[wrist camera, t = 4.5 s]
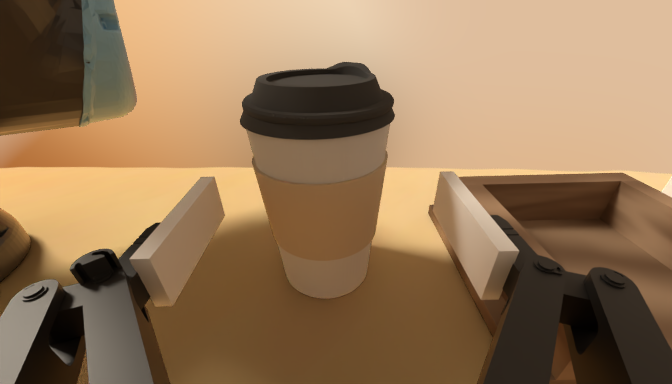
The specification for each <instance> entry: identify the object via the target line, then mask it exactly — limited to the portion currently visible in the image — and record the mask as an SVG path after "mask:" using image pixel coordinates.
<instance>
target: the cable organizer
mask: <svg viewBox="0 0 672 384" xmlns="http://www.w3.org/2000/svg"><path fill="white" fill-rule="evenodd" d="M661 192H662V193H664V194H666V195H668V196H670V197H672V177H671V178H670V180H669V181H668V182H667V184H666V185H665V187H664V188H663V190H662V191H661Z"/></svg>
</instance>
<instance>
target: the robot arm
mask: <svg viewBox="0 0 672 384" xmlns="http://www.w3.org/2000/svg"><path fill="white" fill-rule="evenodd" d="M136 102H137V98H136V91H135V87H134V82H133V77H132V73H131V69H130V65H129V61H128V57H127V53H126V49H125V45H124V41H123V37H122V33H121V29H120V26H119V21H118V17H117V13H116V9H115V5H114V0H0V136H1V135H9V134H17V133H25V132H33V131H41V130H50V129H58V128H65V127H74V126H79V127H81V126H87V125H88V124H89V123H92V122H98V121H103V120H108V119H113V118H119V117H123V116H125V115H127V114H128V113H129V112H131V111H132V110H133V109H134V107H135V105H136ZM433 213H434V214H435V216H436V218H437V220H438V222H439V224H440V226H441V227H442V229H443V231H444V233H445V235H446V237H447V238H448V240H449V242H450V244H451V246H452V248H453V250H454V251H455V253H456V255H457V257H458V259H459V261H460V262H461V264H462V266H463V268H464V270H465V272H466V274H467V275H468V277H469V279H470V281H471V283H472V285H473V287H474V288H475V290H476V292H477V294H478V296H479V298H480V299H481V300H499V298H500V295H501V293H502V291H503V290H504V292H505V293H506V295H507V297H508V299H507V302H506V304H505V306H504V308H503V310H502V313H501V318H500V321H499V324H498V326H497V329H496V332H495V335H494V338H493V340H492V343H491V346H490V349H489V352H488V354H487V357H486V360H485V363H484V366H483V368H482V371H481V374H480V377H479V380H478V382H477V384H549V383H550V376H551V370H552V364H553V357H554V351H555V345H556V338H557V332H558V326H559V323H562V324H563V326H564V330H565V335H566V339H567V344H568V348H569V352H570V357H571V361H572V365H573V370H574V374H575V378H576V383H577V384H672V350H671V348H670V346H669V344H668V342H667V340H666V339H665V337H664V335H663V333H662V331H661V329H660V328H659V326H658V324H657V322H656V320H655V318H654V317H653V315H652V313H651V311H650V309H649V307H648V305H647V304H646V302H645V300H644V298H643V296H642V294H641V293H640V291H639V289H638V287H637V286H636V285H635V283H634V282H633V281H632V280H631V279H629V278H628V277H627V276H625V275H623V274H622V273H619V272H617V271H615V270H612V269H609V268H604V267H594V268H592V269H591V270H590V271H589V273H588V274H587V275H583V274H578V273H573V272H568V271H565V270H564V268H563V267H562V266H561V265H560V264H558V263H557V262H556V261H554V260H552V259H550V258H548V257H544V256H540V255H537V254H536V252H535V251H534V250H533V249H532V248H531V247H530V246H529V245H528V244H527V242H526V241H525V240H524V239H523V238H522V237H521V236H519V234H518V232H517V231H516V230H514V228H513V227H512V226H511V225H510V224H509V222H508V221H506V220H505V219H503V218H502V217H500V216H499V215H489V214H488V213H487V211H486V210H485V209H484V208H483V207H482V205H481V204H480V203H479V202H478V201H477V199H476V198H475V197H474V196H473V195H472V193H471V192H470V191H469V190H468V189H467V187H466V186H465V185H464V184H463V183H462V181H461V180H460V179H459V178H458V177H457V175H456V174H455V173H454V172H440V175H439V180H438V186H437V191H436V196H435V201H434V206H433ZM224 216H225V214H224V210H223V206H222V203H221V199H220V195H219V192H218V188H217V184H216V181H215V177H201V178H200V179H199V180H198V181H197V182H196V184H195V185H194V186H193V187H192V188H191V189H190V190H189V191H188V193H187V194H186V195H185V196H184V197H183V198H182V199H181V201H180V202H179V203H178V204H177V205H176V206H175V207H174V209H173V210H172V211H171V212H170V213H169V214H168V215H167V216H166V218H165V219H164V220H163V221H162V222H161V223H155V224H153V225H152V226H150V227H149V228H147V229H146V230H145V231H144V232H143V233H142V234H141V235H140V236H139V238H137V239H136V241H135V242H134V243H133V245H131V246H130V247H129V248H128V249H127V250H126V251H125V252H124V254H123V255H122V256H121V257H120V258H119V259H117V257H116V255H115V253H114V252H113V251H112V250H110V249H99V250H95V251H92V252H90V253H87V254H85V255H83V256H82V257H80V258H79V259H77V260H76V261H75V262H74V263H73V264H72V265H71V267H70V271H71V272H72V274H73V275H74V277H75V278H76V279H77V281H78V282H79V283H78V284H74V285H69V286H65V287H62V286H61V285H60V284H59V282H58V281H56V280H53V279H48V280H42V281H39V282H36V283H33V284H31V285H29V286H27V287H25V288H24V289H22V290H21V291H20V292H18V293H17V294H16V295H15V296H14V297H13V298H12V299H11V300H10V302H9V304H8V305H7V307H6V309H5V310H4V312H3V314H2V315H1V317H0V384H77V380H78V377H79V373H80V369H81V365H82V362H83V358H84V354H85V351H86V354H87V366H88V379H89V384H170V381H169V378H168V375H167V372H166V368H165V365H164V362H163V359H162V356H161V352H160V349H159V346H158V343H157V340H156V336H155V333H154V330H153V327H152V324H151V320H150V317H149V314H148V311H147V309H146V307H145V304H146V303H147V301H148V300H149V298H151V300H152V302H153V304H154V306H155V307H160V306H173V305H174V303H175V302H176V300H177V298H178V296H179V295H180V293H181V291H182V289H183V288H184V286H185V284H186V282H187V281H188V279H189V277H190V276H191V274H192V272H193V270H194V269H195V267H196V265H197V263H198V262H199V260H200V258H201V256H202V255H203V253H204V251H205V249H206V248H207V246H208V244H209V242H210V241H211V239H212V237H213V235H214V234H215V232H216V230H217V228H218V227H219V225H220V223H221V222H222V220H223V218H224ZM30 244H31V240H30V237H29V236H28V234H27V233H26V231H25V230H24V229H23V228H22V226H21V225H20V224H19V222H18V221H17V220H16V219H15V218H14V217H13V216H12V215H10V214H9V213H7V212H6V211H4V210H2V209H1V208H0V281H1V280H3V279H4V278H5V277H6V276H7V275H8V274H9V273H10V272H12V271H13V270H14V269H15V268H16V267H17V266H18V265H19V263H20V262H21V261H22V260H23V258H24V257H25V256H26V254H27V252H28V250H29V248H30Z"/></svg>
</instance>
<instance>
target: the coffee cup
mask: <svg viewBox="0 0 672 384" xmlns="http://www.w3.org/2000/svg"><path fill="white" fill-rule="evenodd" d="M393 104H394V99H393V97H392V95H391V94H390V93H388V92H386V91H384V90H381V89H380V87H379V84H378V82H377V79H376V77H375V75H374V74H372V73H371V72H370V70H369V69H368V68H367V67H366V66H365V65H364V64H361V63H351V62H342V63H338V64H336V65H334V66H332V67H329V68H327V69H302V70H301V69H300V70H288V71H280V72H274V73H269V74H265V75H262V76H259V77H258V78H257V79H256V82H255V85H254V89H253V93H251V94H250V95H248V96H246V97H245V98H244V100H243V102H242V107H243V110H244V111H243V113H242V116H241V119H240V124H241V125H242V126H243V127H244V128H245V129H246V130H247V134H248V138H249V141H250V145H251V148H252V152H253V159H252V164H253V167H254V171H255V174H256V178H257V181H258V184H259V188H260V191H261V195H262V198H263V202H264V205H265V209H266V212H267V215H268V219H269V222H270V226H271V229H272V233H273V236H274V239H275V241H276V242H277V244H278V248H279V251H280V255H281V258H282V262H283V266H284V269H285V273H286V276H287V279H288V281H289V282H290V284H291V285H292V286H293V287H294V288H295V289H296V290H298V291H299V292H301V293H303V294H305V295H308V296H311V297H315V298H323V299H328V298H336V297H340V296H343V295H346V294H348V293H350V292H352V291H353V290H355V289H356V288H357V287H358V286H359V285H360V284H361V283H362V282H363V280H364V279H365V277H366V274H367V269H368V262H369V256H370V249H371V243H372V239H373V237H374V235H375V230H376V224H377V218H378V212H379V206H380V200H381V194H382V188H383V181H384V175H385V169H386V163H387V151H386V145H387V139H388V133H389V126H390V123H391V122H392V121H393V119H394V117H395V114H394V112H393V109H392V107H393Z"/></svg>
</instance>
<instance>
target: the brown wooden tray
mask: <svg viewBox="0 0 672 384" xmlns="http://www.w3.org/2000/svg"><path fill="white" fill-rule="evenodd" d="M458 178H459V179H460V180H461V181H462V183H463V184H464V185H465V186H466V187H467V189H468V190H469V191H470V192H471V193H472V195H473V196H474V197H475V198H476V199H477V201H478V202H479V203H480V204H481V205H482V207H483V208H484V209H485V210H486V211H487V213H488V214H489V215H499V216H500V217H502V218H503V219H505V220H506V221H508V222H509V224H510V225H511V226H512V227H513V228H514V230H516V231H517V232H518V234H519V236H521V237H522V238H523V239H524V240H525V241H526V242H527V244H528V245H529V246H530V247H531V248H532V249H533V250H534V251H535V252H536V254H537V255H540V256H544V257H548V258H550V259H552V260H554V261H556V262H557V263H558V264H560V265H561V266H562V267H563V268H564V270H565V271H568V272H573V273H578V274H583V275H587V274H588V273H589V271H590V270H591V269H592V268H594V267H604V268H609V269H612V270H615V271H617V272H619V273H622V274H623V275H625V276H627V277H628V278H629V279H631V280H632V281H633V282H634V283H635V285H636V286H637V287H638V289H639V291H640V293H641V294H642V296H643V298H644V300H645V302H646V304H647V305H648V307H649V309H650V311H651V313H652V315H653V317H654V318H655V320H656V322H657V324H658V326H659V328H660V329H661V331H662V333H663V335H664V337H665V339H666V340H667V342H668V344H669V346H670V348H671V350H672V197H670V196H668V195H666V194H664V193H662V192H660V191H658V190H656V189H654V188H652V187H650V186H648V185H646V184H644V183H642V182H640V181H638V180H636V179H634V178H632V177H630V176H628V175H626V174H624V173H595V174H554V175H513V176H473V177H458ZM433 206H434V205H430V206H429V212H428V213H429V215H430V217H431V219H432V221H433V223H434V225H435V227H436V229H437V231H438V233H439V234H440V236H441V238H442V240H443V242H444V244H445V246H446V248H447V250H448V252H449V254H450V256H451V257H452V259H453V261H454V263H455V265H456V267H457V269H458V271H459V273H460V275H461V277H462V279H463V281H464V282H465V284H466V286H467V288H468V290H469V292H470V294H471V296H472V298H473V300H474V302H475V304H476V305H477V307H478V309H479V311H480V313H481V315H482V317H483V319H484V321H485V323H486V325H487V327H488V328H489V330H490V332H491V334H492V336H493V338H494V335H495V332H496V329H497V326H498V324H499V321H500V318H501V313H502V310H503V308H504V306H505V304H506V302H507V299H508V297H507V295H506V293H505V292H504V290H503V291H502V293H501V295H500V298H499V300H481V299H480V298H479V296H478V294H477V292H476V290H475V288H474V287H473V285H472V283H471V281H470V279H469V277H468V275H467V274H466V272H465V270H464V268H463V266H462V264H461V262H460V261H459V259H458V257H457V255H456V253H455V251H454V250H453V248H452V246H451V244H450V242H449V240H448V238H447V237H446V235H445V233H444V231H443V229H442V227H441V226H440V224H439V222H438V220H437V218H436V216H435V214H434V213H433ZM549 384H577V383H576V378H575V374H574V370H573V365H572V361H571V357H570V352H569V348H568V344H567V339H566V335H565V330H564V326H563V324H562V323H559V326H558V332H557V338H556V345H555V351H554V357H553V364H552V370H551V376H550V383H549Z"/></svg>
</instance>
